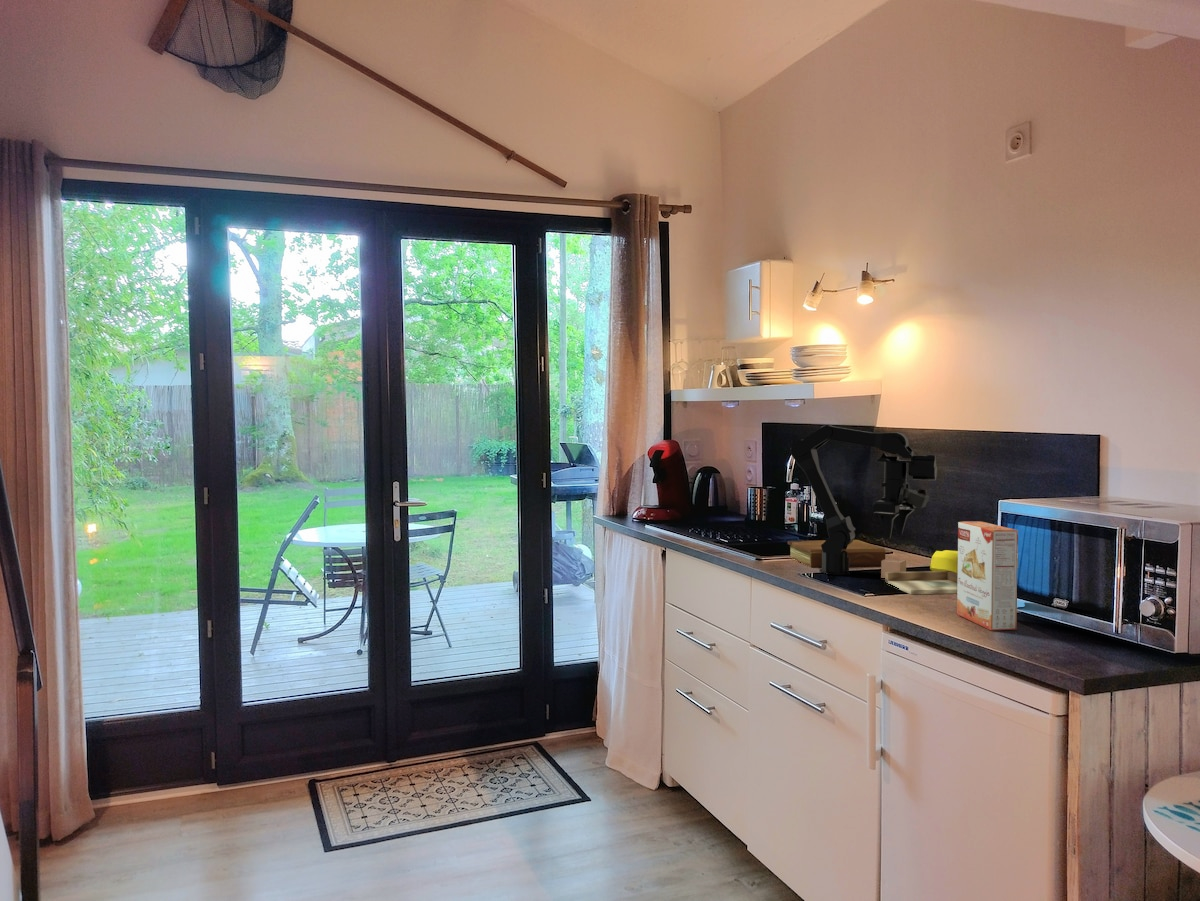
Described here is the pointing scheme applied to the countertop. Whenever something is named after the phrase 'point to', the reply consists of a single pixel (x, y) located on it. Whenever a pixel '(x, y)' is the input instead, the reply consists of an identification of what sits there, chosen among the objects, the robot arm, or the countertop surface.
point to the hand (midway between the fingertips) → (894, 536)
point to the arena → (924, 581)
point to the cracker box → (987, 575)
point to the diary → (857, 550)
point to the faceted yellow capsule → (945, 561)
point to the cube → (892, 566)
